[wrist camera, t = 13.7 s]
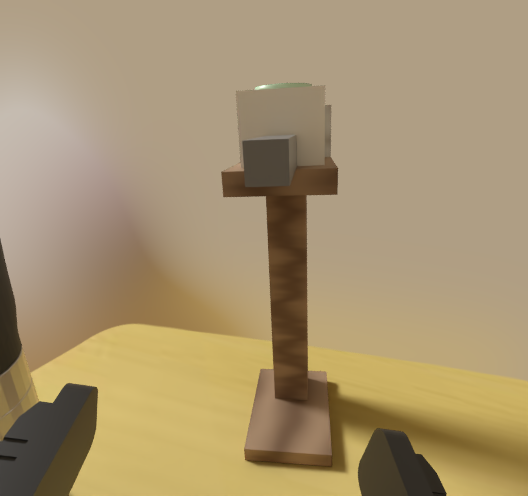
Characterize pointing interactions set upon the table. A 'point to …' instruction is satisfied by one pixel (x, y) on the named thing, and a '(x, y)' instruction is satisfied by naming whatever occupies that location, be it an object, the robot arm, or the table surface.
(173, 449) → the table surface
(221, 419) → the table surface
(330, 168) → the wooden pedestal stand
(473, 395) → the table surface
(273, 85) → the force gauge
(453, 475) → the table surface
